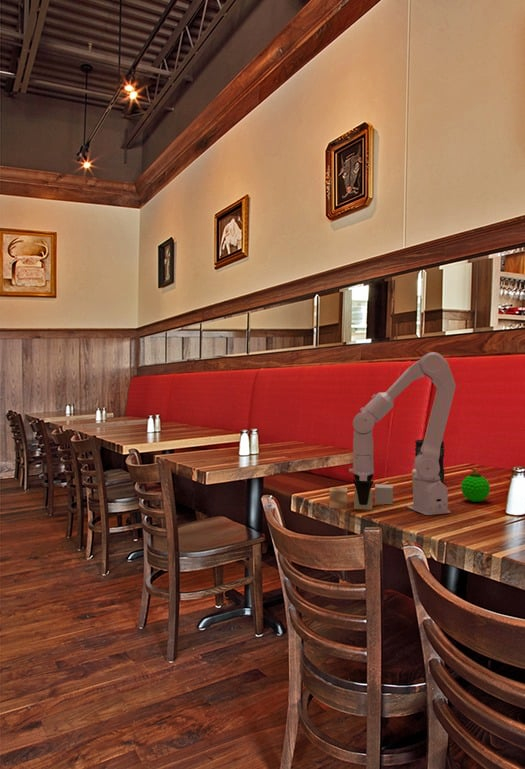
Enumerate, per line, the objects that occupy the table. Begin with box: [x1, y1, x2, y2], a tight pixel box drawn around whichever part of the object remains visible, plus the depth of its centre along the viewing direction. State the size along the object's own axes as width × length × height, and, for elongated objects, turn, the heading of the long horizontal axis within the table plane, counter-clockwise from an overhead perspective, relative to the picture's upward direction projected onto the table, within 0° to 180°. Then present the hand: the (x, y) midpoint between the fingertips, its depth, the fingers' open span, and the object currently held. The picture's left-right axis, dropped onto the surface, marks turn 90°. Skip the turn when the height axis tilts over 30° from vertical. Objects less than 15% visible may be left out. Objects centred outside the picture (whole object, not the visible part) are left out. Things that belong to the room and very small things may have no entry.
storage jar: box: [414, 439, 445, 485], centre depth 190 cm, size 10×10×15 cm
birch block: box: [328, 487, 349, 510], centre depth 157 cm, size 5×5×5 cm
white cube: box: [374, 483, 394, 505], centre depth 162 cm, size 5×5×5 cm
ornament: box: [460, 467, 491, 503], centre depth 162 cm, size 8×8×10 cm
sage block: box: [353, 487, 373, 511], centre depth 156 cm, size 5×5×5 cm
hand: (363, 501), depth 156 cm, fingers open, 7 cm apart
